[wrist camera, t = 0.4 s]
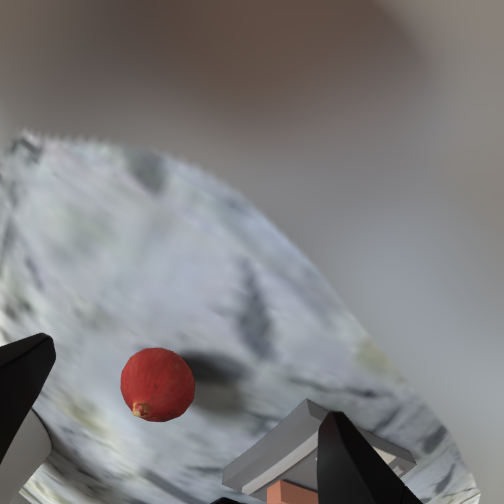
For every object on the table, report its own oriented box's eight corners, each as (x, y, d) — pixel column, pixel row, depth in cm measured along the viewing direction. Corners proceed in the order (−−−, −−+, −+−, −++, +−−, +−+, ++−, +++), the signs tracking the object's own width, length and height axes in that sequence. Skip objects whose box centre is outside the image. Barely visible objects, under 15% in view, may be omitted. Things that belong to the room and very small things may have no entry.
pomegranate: (216, 375, 24) (198, 435, 16) (167, 398, 24) (138, 453, 16) (176, 321, 23) (140, 367, 15) (128, 349, 24) (85, 394, 16)
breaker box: (332, 507, 26) (336, 525, 23) (224, 468, 25) (220, 489, 22) (409, 451, 24) (419, 468, 21) (306, 398, 24) (311, 420, 20)
